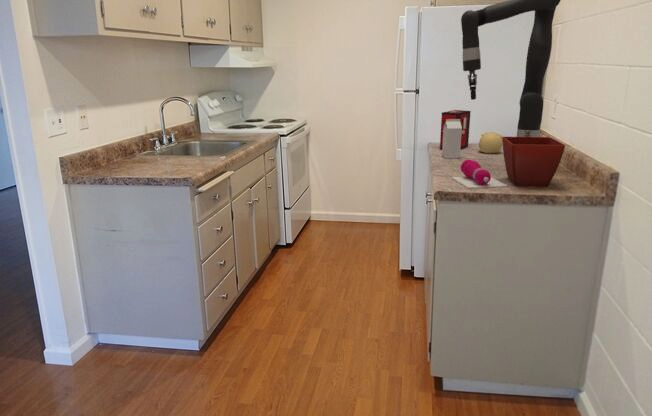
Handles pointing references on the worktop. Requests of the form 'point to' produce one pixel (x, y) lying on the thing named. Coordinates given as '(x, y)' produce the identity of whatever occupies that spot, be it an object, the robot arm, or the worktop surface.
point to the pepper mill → (475, 172)
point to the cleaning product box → (465, 124)
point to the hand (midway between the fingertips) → (473, 99)
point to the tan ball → (490, 142)
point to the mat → (473, 184)
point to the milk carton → (452, 138)
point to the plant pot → (531, 159)
